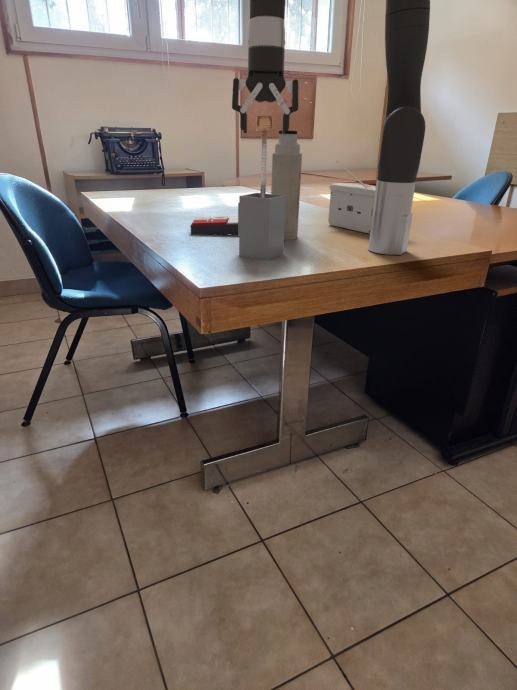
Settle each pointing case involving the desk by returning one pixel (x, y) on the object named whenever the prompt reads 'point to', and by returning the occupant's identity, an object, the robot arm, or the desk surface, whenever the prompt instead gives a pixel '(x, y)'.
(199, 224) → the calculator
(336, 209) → the stereo radio cassette player
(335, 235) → the desk surface
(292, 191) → the thermos bottle
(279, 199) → the grey hexagonal pencil cup
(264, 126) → the plunger
